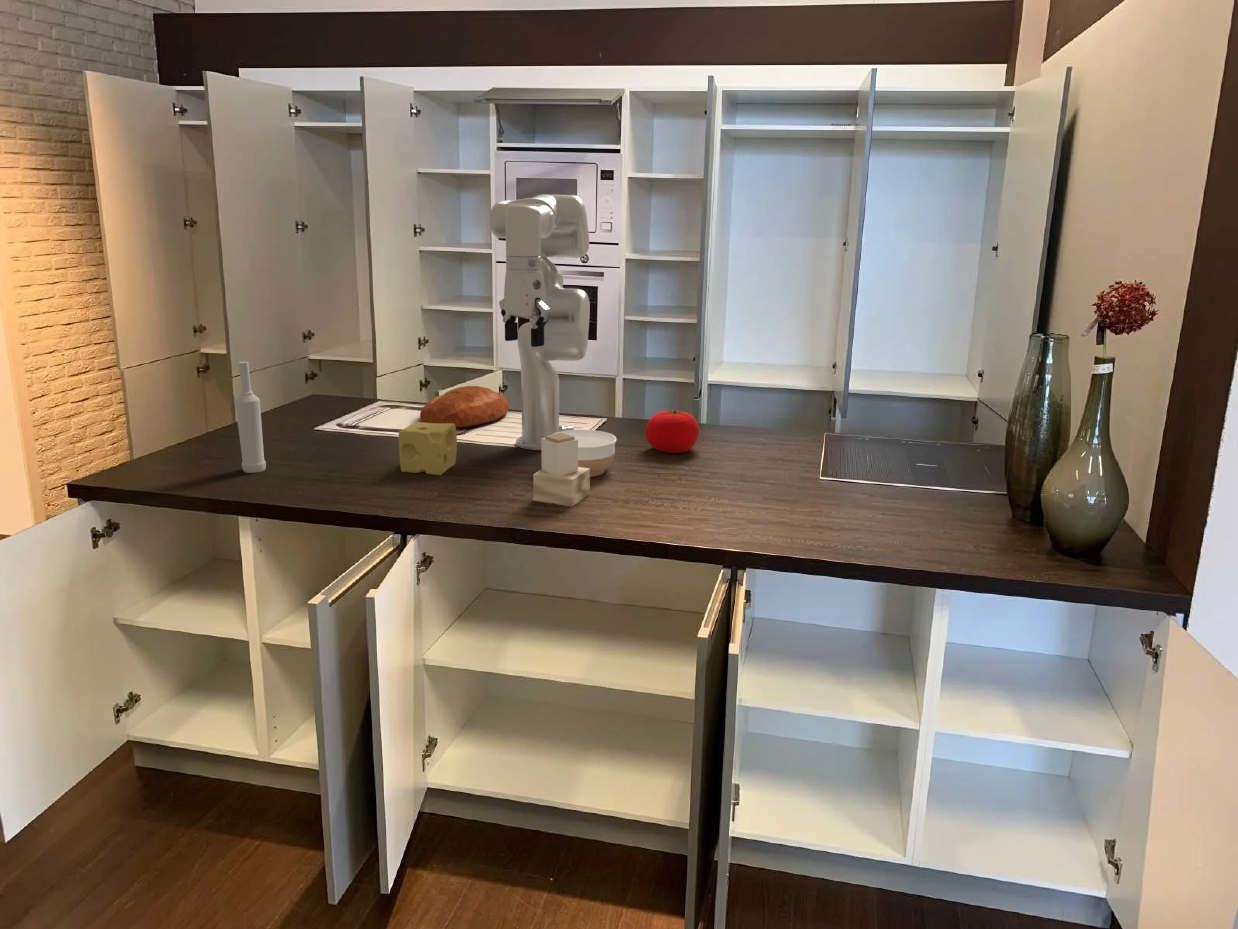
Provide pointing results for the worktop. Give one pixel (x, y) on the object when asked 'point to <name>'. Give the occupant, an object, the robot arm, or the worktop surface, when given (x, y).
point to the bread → (465, 407)
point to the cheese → (427, 447)
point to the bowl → (594, 449)
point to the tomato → (672, 431)
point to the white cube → (559, 454)
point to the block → (561, 487)
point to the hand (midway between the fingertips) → (524, 343)
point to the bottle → (249, 424)
